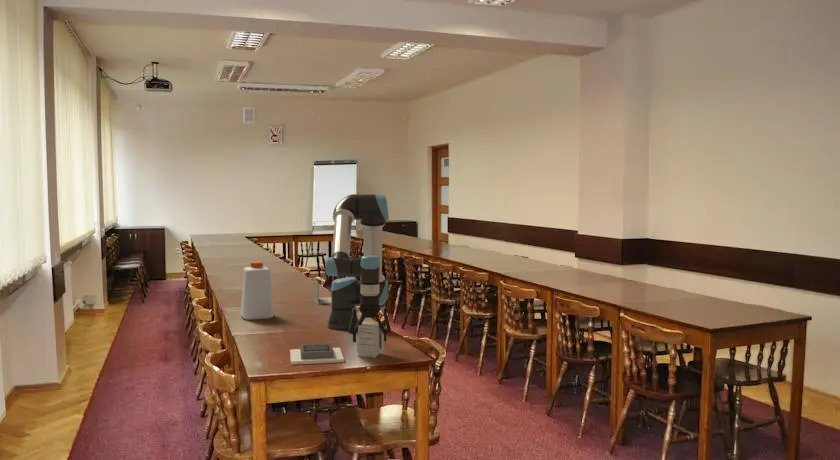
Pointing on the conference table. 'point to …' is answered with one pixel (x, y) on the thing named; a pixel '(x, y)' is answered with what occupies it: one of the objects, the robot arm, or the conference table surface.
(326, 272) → the robot arm
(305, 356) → the collar
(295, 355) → the base plate
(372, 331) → the supplement box
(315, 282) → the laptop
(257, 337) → the conference table surface
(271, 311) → the plastic bottle
